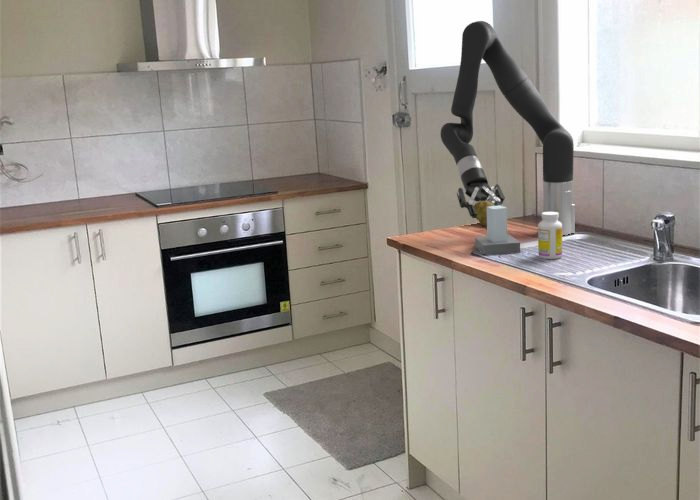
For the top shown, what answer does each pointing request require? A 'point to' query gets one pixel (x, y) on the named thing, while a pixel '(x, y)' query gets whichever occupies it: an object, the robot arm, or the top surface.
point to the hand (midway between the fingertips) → (487, 215)
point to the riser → (497, 245)
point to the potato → (482, 211)
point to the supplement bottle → (550, 236)
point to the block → (497, 223)
